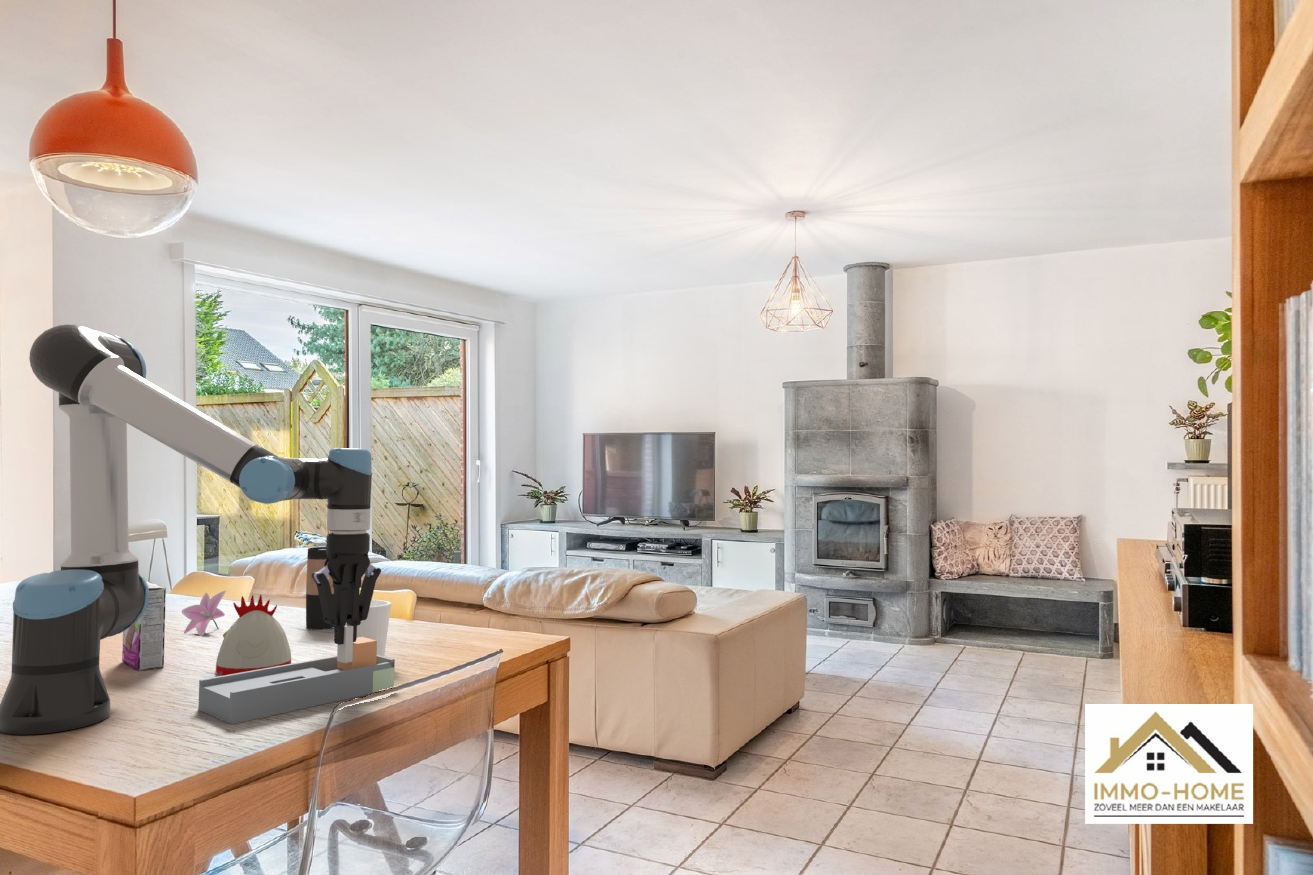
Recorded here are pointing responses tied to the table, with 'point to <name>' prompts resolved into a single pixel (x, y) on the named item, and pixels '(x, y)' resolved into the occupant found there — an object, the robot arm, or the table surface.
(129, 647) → the candy bar box
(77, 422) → the robot arm
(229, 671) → the kitchen timer
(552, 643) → the table surface
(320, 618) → the travel mug
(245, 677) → the box
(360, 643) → the block
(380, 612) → the cup
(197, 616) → the lily
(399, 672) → the table surface
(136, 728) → the table surface
